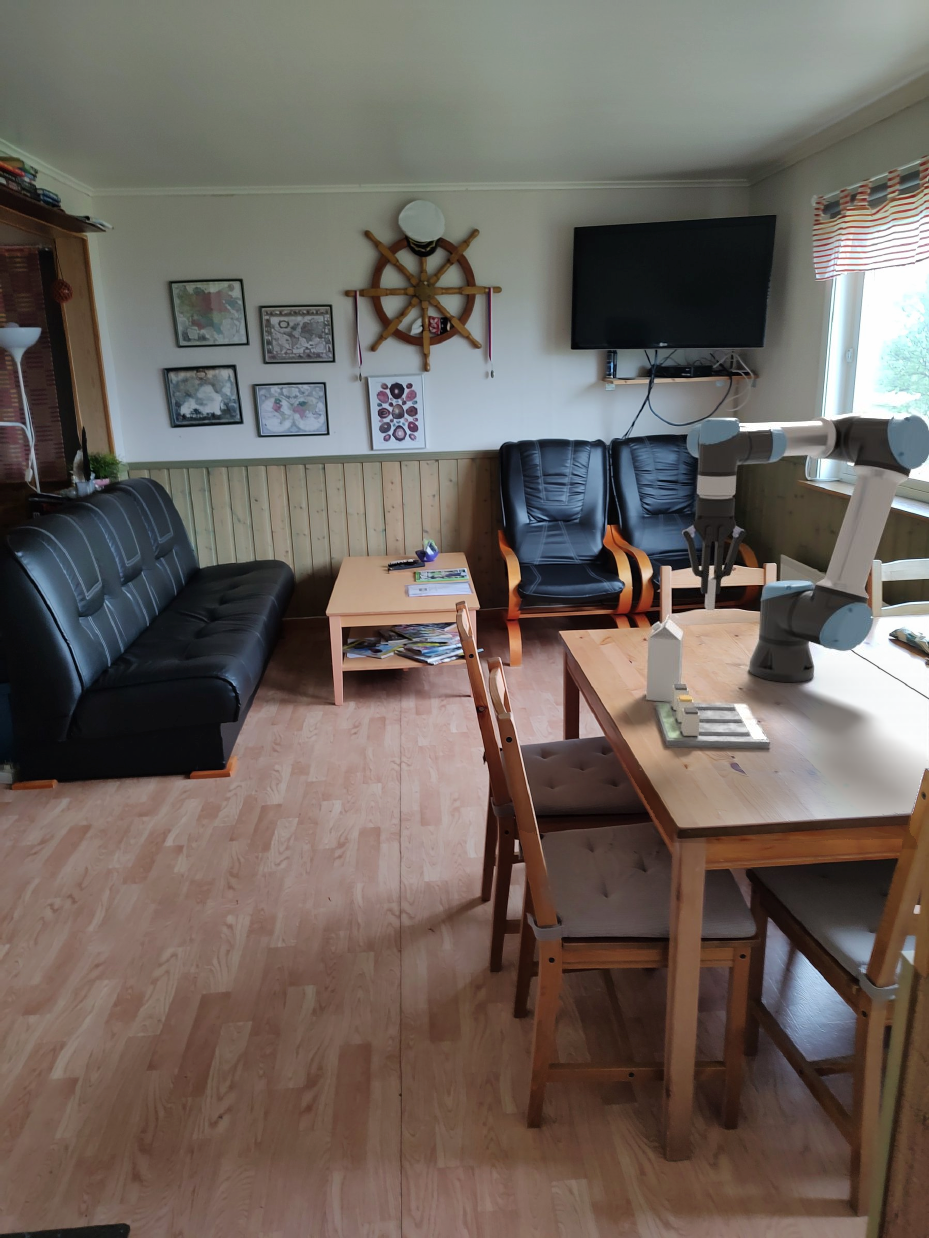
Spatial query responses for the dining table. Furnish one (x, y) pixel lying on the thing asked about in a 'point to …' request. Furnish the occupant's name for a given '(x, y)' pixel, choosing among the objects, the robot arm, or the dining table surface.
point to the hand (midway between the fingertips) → (709, 608)
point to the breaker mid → (683, 705)
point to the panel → (714, 727)
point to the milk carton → (664, 660)
